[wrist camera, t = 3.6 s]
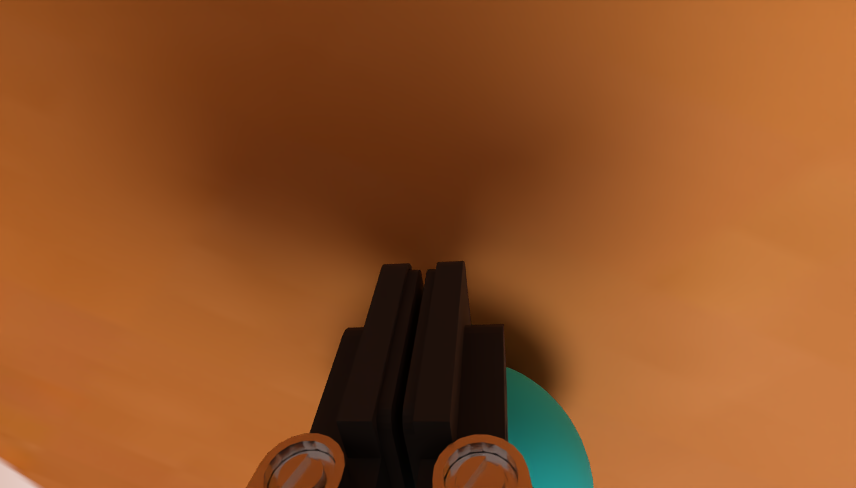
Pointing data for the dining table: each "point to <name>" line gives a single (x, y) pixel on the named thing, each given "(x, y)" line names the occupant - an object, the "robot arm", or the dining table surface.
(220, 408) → the dining table surface
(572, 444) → the ball
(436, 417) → the robot arm
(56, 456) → the dining table surface
